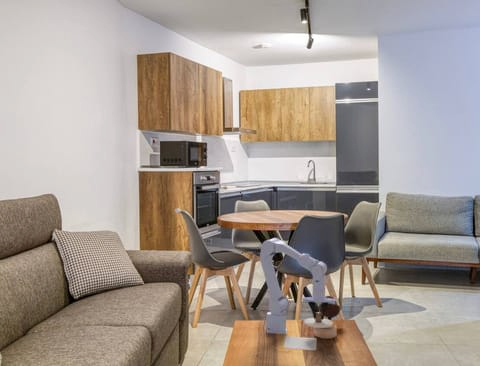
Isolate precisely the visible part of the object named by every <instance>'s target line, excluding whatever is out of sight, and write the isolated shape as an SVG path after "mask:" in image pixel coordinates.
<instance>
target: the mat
mask: <svg viewBox="0 0 480 366" xmlns="http://www.w3.org/2000/svg"><path fill="white" fill-rule="evenodd" d="M317 338H318V337H301V336H288V335H287V336H285V338H284V344H283V349H289V350H290V349H292V350H306V351H307V350H308V351H317Z"/></svg>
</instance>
